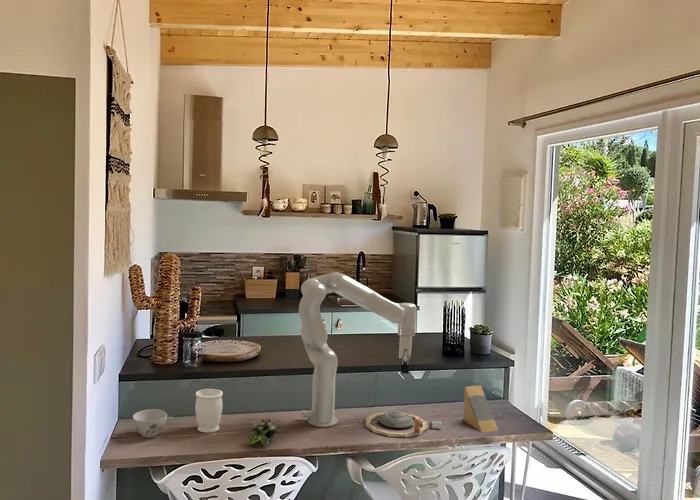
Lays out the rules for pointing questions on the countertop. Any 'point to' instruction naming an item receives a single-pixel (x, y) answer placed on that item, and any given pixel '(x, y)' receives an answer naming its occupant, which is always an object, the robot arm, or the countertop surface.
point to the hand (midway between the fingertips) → (404, 370)
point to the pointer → (435, 425)
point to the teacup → (151, 422)
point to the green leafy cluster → (263, 432)
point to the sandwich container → (478, 410)
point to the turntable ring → (416, 432)
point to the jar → (208, 409)
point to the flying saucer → (396, 419)
